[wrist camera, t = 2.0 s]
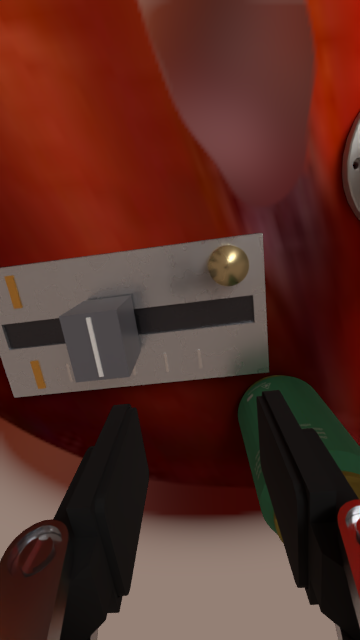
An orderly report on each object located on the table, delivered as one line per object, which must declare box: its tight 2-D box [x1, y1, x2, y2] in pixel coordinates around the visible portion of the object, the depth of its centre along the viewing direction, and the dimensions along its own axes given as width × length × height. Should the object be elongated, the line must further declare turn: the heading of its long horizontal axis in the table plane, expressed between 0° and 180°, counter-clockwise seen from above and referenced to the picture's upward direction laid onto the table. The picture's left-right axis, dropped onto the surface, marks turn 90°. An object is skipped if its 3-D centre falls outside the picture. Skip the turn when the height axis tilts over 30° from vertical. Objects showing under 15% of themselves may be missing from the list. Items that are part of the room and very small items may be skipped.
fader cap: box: [59, 295, 141, 382], centre depth 22 cm, size 4×5×5 cm
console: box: [0, 233, 269, 398], centre depth 25 cm, size 24×12×4 cm, turn 97°
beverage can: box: [238, 375, 360, 542], centre depth 23 cm, size 8×8×12 cm
